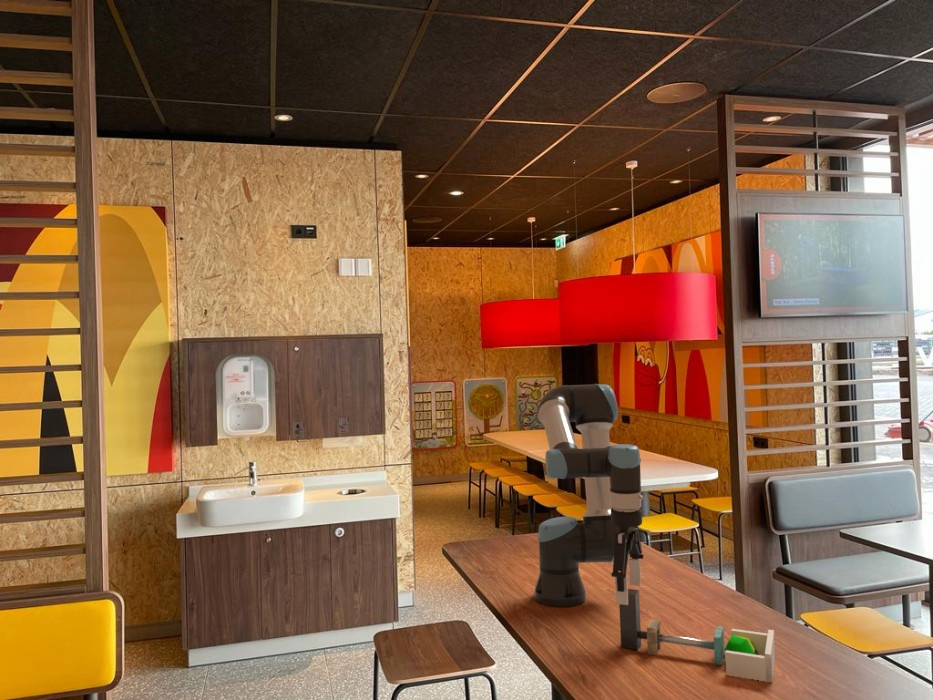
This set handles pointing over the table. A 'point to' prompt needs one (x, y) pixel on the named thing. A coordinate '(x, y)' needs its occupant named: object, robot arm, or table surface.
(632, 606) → the piston
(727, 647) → the apple
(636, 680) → the table surface
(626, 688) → the table surface
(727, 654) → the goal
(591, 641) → the table surface
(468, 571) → the table surface
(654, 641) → the bearing block
